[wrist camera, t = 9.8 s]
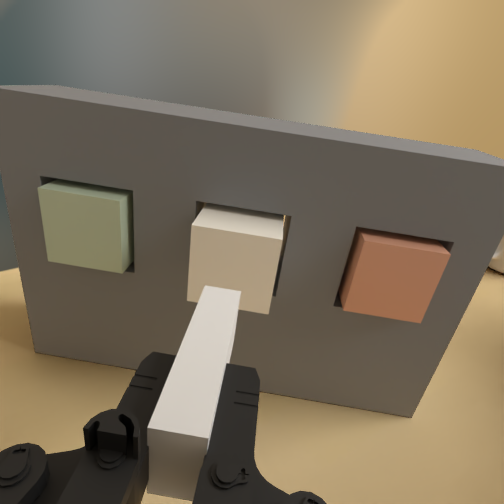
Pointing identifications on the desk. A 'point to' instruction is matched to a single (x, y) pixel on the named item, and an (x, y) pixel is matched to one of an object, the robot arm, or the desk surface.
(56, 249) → the sage green button
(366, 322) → the button panel
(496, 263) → the cup
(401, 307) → the terracotta button
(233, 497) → the robot arm
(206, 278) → the cream button
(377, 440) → the desk surface
